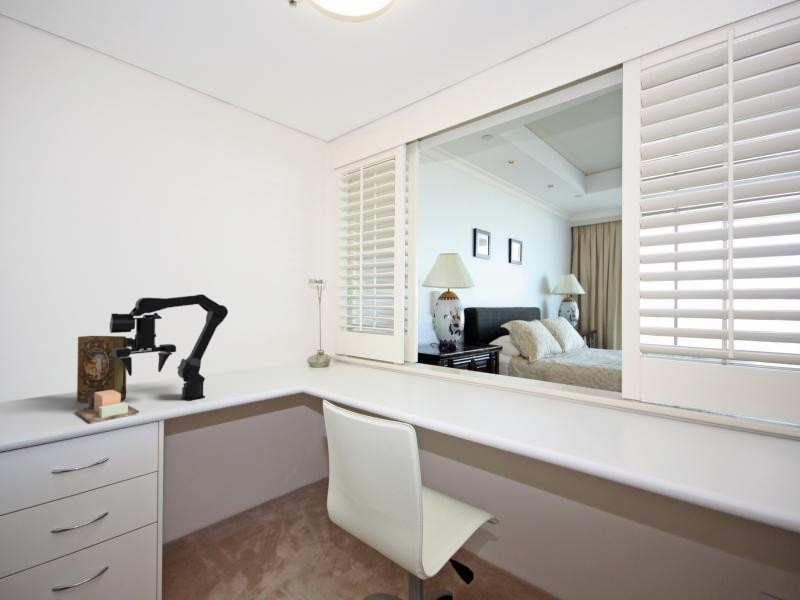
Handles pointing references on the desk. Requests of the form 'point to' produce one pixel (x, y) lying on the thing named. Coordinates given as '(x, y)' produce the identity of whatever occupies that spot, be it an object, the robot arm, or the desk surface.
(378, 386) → the desk surface
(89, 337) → the book
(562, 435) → the desk surface
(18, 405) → the desk surface
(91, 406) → the bookend
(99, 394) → the peach rectangular block
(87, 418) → the shelf board
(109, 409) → the pale green rectangular block
